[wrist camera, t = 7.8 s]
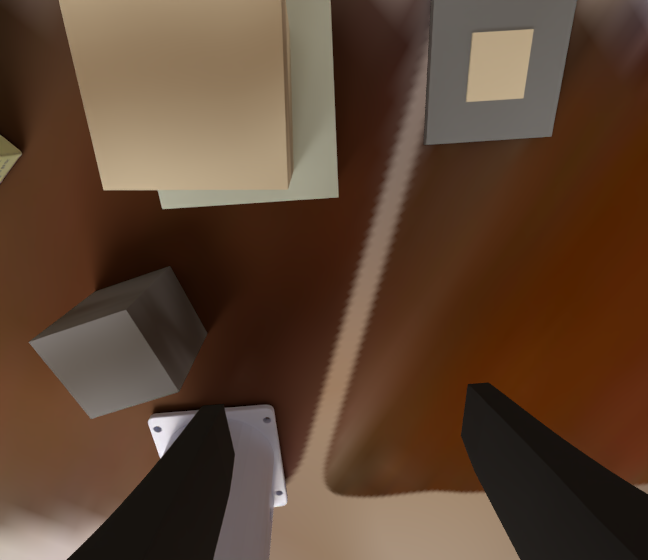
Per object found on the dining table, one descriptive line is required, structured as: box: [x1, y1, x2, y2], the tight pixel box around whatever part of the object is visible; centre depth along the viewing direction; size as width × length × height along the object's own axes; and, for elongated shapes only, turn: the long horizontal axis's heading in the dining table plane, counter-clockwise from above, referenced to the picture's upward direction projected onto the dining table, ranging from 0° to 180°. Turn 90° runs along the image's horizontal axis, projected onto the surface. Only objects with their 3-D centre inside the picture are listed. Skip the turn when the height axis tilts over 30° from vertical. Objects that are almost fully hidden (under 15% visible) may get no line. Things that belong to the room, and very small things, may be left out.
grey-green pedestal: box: [158, 0, 339, 209], centre depth 14 cm, size 7×7×4 cm
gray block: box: [29, 266, 208, 419], centre depth 17 cm, size 4×4×5 cm
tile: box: [424, 0, 577, 145], centre depth 15 cm, size 6×6×1 cm
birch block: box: [59, 0, 294, 190], centre depth 10 cm, size 4×4×5 cm
